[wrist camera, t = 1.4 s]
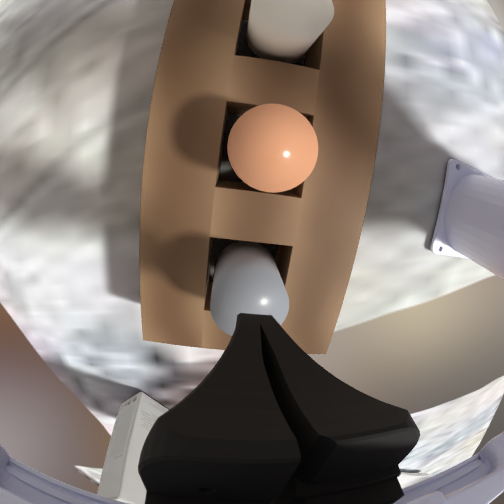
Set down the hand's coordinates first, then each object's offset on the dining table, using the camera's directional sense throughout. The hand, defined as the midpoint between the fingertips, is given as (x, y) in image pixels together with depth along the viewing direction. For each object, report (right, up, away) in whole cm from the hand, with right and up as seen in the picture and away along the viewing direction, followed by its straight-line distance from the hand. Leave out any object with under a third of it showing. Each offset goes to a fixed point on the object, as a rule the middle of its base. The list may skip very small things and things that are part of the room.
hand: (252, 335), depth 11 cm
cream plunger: (+1, +15, +2) cm, 15 cm away
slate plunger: (0, +2, +6) cm, 7 cm away
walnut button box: (0, +10, +6) cm, 11 cm away
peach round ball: (+1, +9, +4) cm, 10 cm away
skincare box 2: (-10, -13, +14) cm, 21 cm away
